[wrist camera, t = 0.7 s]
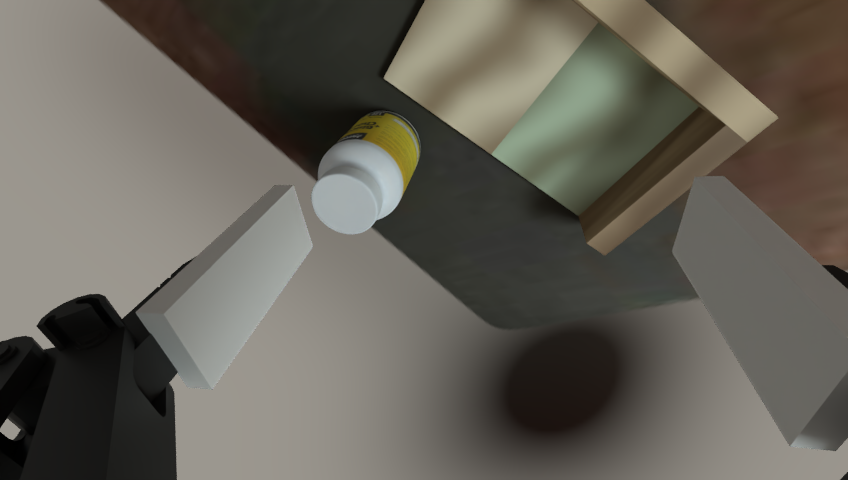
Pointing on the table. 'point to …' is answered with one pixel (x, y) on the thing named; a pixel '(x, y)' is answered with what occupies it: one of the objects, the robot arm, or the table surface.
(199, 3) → the table surface
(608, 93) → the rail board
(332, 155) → the pill bottle
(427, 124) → the table surface
